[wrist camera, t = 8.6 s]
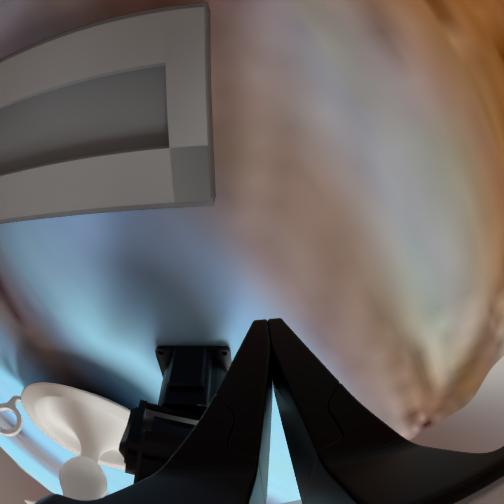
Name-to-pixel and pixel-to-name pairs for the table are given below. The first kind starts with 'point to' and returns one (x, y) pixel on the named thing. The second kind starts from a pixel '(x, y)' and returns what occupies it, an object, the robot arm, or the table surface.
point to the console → (109, 118)
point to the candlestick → (75, 433)
